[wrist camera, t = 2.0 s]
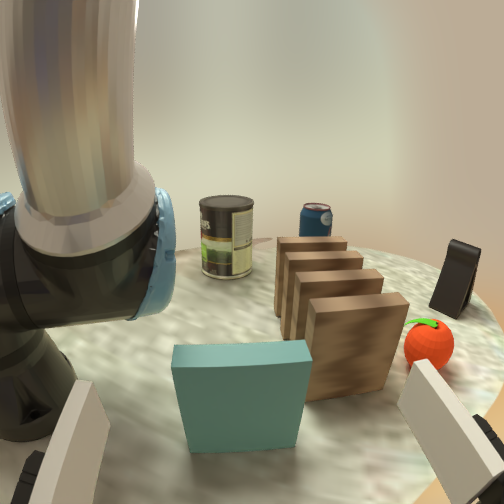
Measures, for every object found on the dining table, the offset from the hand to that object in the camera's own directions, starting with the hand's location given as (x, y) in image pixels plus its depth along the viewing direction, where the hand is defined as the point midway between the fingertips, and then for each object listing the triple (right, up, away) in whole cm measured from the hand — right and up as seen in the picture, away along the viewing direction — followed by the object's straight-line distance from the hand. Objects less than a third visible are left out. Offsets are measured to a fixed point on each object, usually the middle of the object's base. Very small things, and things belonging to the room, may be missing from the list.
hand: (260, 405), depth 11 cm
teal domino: (-1, -12, +16) cm, 20 cm away
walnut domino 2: (+9, -6, +33) cm, 35 cm away
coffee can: (-5, +2, +54) cm, 54 cm away
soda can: (+13, +4, +59) cm, 61 cm away
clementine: (+22, -9, +25) cm, 34 cm away
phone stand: (+36, -4, +39) cm, 54 cm away
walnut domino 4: (+10, -10, +22) cm, 26 cm away
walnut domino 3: (+9, -8, +28) cm, 30 cm away
